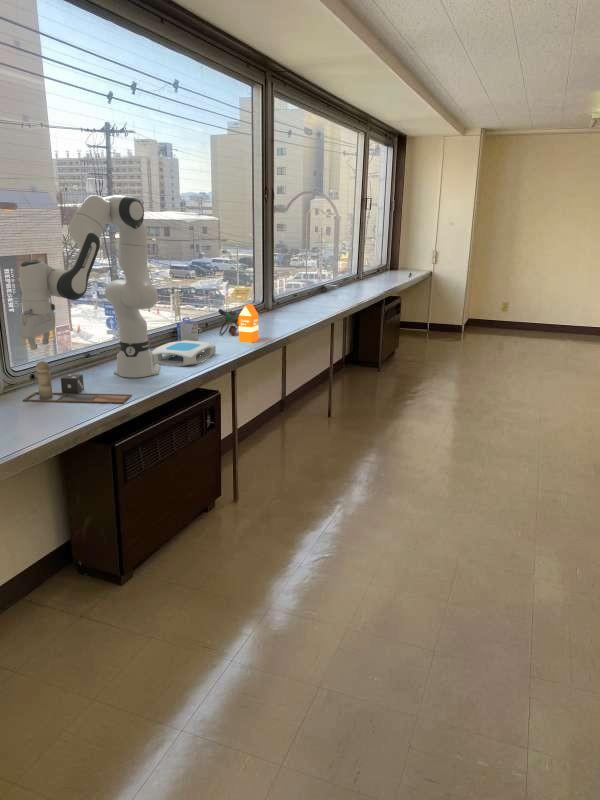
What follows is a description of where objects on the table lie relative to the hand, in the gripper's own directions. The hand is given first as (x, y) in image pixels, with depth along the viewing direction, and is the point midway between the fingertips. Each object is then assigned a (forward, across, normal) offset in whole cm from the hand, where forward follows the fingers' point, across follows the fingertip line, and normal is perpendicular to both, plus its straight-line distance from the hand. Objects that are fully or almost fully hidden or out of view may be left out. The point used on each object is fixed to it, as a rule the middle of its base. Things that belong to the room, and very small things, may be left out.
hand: (40, 346), depth 211 cm
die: (+19, +9, -7) cm, 22 cm away
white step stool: (+18, +67, -37) cm, 79 cm away
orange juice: (+18, +112, -63) cm, 130 cm away
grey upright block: (+18, +97, -33) cm, 104 cm away
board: (+19, 0, -12) cm, 22 cm away
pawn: (+19, 0, 0) cm, 19 cm away
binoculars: (+17, +129, -51) cm, 140 cm away
